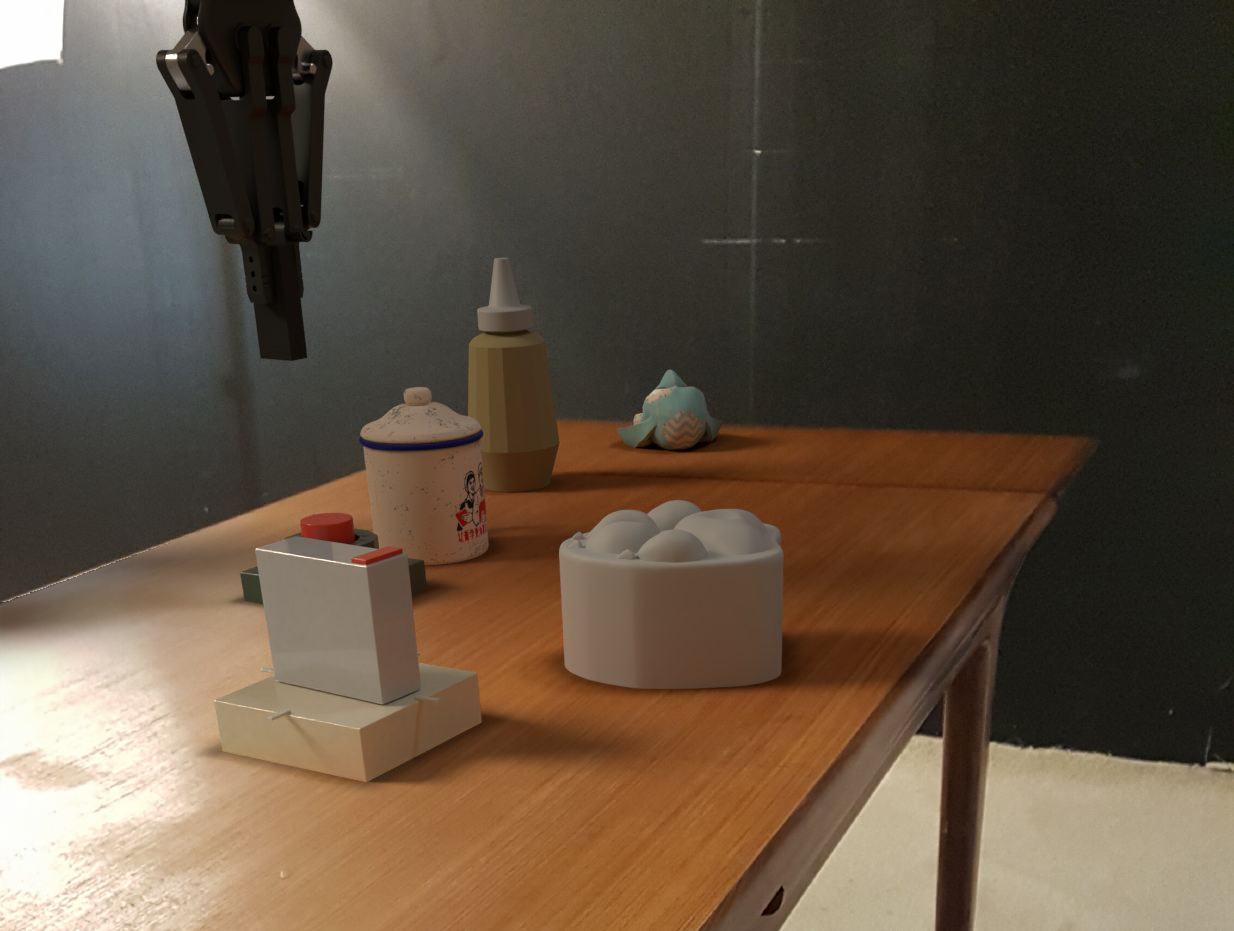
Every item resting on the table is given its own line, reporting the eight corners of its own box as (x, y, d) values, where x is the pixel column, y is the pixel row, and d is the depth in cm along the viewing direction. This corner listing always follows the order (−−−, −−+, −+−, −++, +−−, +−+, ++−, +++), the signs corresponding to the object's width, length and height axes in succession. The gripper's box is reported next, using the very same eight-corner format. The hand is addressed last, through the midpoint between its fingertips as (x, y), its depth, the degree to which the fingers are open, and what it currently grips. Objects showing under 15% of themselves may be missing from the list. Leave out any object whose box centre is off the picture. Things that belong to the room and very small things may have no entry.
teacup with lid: (485, 567, 116) (472, 396, 110) (363, 570, 116) (343, 400, 110) (501, 529, 126) (489, 371, 120) (388, 532, 126) (371, 374, 120)
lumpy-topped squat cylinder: (783, 689, 90) (786, 533, 86) (557, 693, 91) (549, 539, 86) (776, 636, 99) (779, 492, 94) (571, 641, 100) (564, 498, 95)
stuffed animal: (706, 370, 157) (738, 361, 146) (710, 448, 160) (741, 445, 149) (601, 378, 155) (624, 369, 144) (606, 456, 158) (630, 453, 147)
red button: (292, 548, 108) (288, 521, 107) (327, 536, 111) (323, 510, 110) (332, 553, 106) (329, 526, 105) (366, 541, 109) (363, 515, 108)
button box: (244, 603, 110) (234, 544, 108) (320, 576, 116) (312, 519, 113) (354, 621, 105) (347, 559, 103) (427, 591, 111) (422, 533, 109)
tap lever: (274, 681, 85) (253, 543, 81) (313, 665, 87) (294, 530, 83) (383, 705, 81) (366, 561, 77) (422, 689, 83) (407, 548, 79)
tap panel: (193, 757, 84) (182, 700, 83) (341, 691, 93) (334, 638, 91) (370, 797, 79) (362, 736, 77) (510, 722, 87) (506, 666, 86)
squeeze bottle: (508, 501, 134) (492, 264, 125) (452, 488, 140) (432, 260, 130) (580, 486, 139) (570, 255, 129) (523, 474, 144) (509, 251, 134)
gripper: (195, -111, 83) (258, 376, 96) (353, -94, 92) (392, 348, 105) (95, -101, 86) (169, 368, 99) (257, -86, 95) (306, 341, 108)
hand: (283, 357), depth 102 cm, fingers closed
